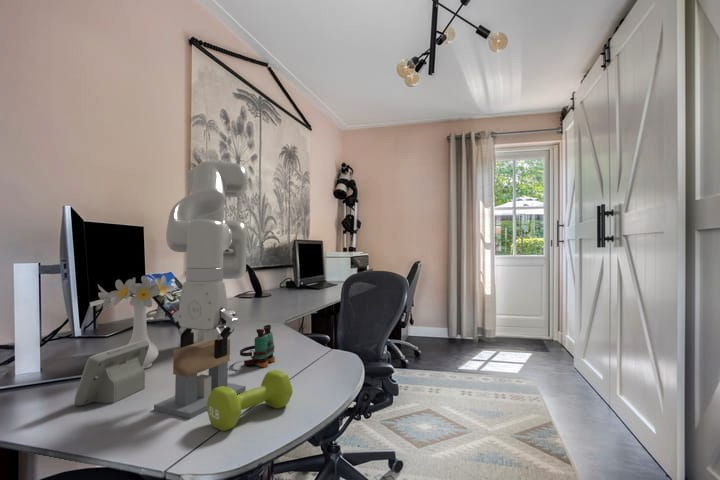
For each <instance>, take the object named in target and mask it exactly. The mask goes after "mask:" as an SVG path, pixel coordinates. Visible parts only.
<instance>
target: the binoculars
mask: <svg viewBox="0 0 720 480" xmlns="http://www.w3.org/2000/svg"><path fill="white" fill-rule="evenodd" d="M271 329H272V325H271V324H266V325H264V326H263V328H261V329H260V328H257V329H256V334H257V336H256V337H254V345H250V346H245V347H243V348H242V349H240V350H239V355H240V356H241V357H250V358H251V359H246V360H244V361H243V363H244V366H250V365H257V366H258V367H260V368H266V367H268V366H269V363H274V362H275V361H276V359H275V357H276V356H274V353H275V344H274V342H275V341H274V336H273V334H274V333H273V332H272V331H271ZM248 351H250V352H248Z"/></svg>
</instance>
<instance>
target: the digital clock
mask: <svg viewBox="0 0 720 480" xmlns="http://www.w3.org/2000/svg"><path fill="white" fill-rule="evenodd" d="M148 349H149V342H148V341H146V340H143V341H138V342H135V343H131V344H128V343H127V344H125V345H122V346H119V347H115V348H112V349H109V350H106V351H103V352H99V353H97V354H94V355H91V356H89V357H88V358H87V361H86V362H85V366H84V369H83V371H82V374H81V378H80V381H79V384H78V387H77V390H76V391H75V395H74V401H73V402H74V405H76V406H77V407H79V406H86V405H88V404H90V403H93V402H96V403H97V402H98V403H104V404H105V403H106V404H107V403H108V404H114V403H117V402H119V401H121V400H122V399H125V398H128V397H129V396H132V395H135V394H136V393H138V392H139V391H142V390H144V389H145V387H146V385H145V384H146V371H145V370H146V369H143V368H142V366H143V363H144V360H145V357H146V355H147V352H148Z"/></svg>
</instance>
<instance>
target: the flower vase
mask: <svg viewBox="0 0 720 480" xmlns="http://www.w3.org/2000/svg"><path fill="white" fill-rule="evenodd" d="M140 279H141V280H140V281H141V283H138V282H137V283H136V277H133V278H130V279H126V281H125V283H123V281H122V280H121V279H117V280H115V282H114V284H115V288H116V289H117V290H112V291H110V292H107V290H105V289H104V288H103V287H102V286H100V285H99V284H97V287H98V290H100V292H98V293H97V294H98V298H99V299H100V300H102V301H103V302H102V311H103V312H105V311H106V310H108V305H109V304H110V302H111V300H112V299H114V301H113V303H112V305H113V306H118V304H119V303H120V302H121V301H122V300H124V299H125V300H128V299H129V298H130V297H131V298H130V300H129V305H130V306H133V327H132V328H133V329H132V335H131V338H130V340H129V341H128V343H127V345H128V344H131V343H135V342H138V341H143V340H146V341H148V342H149V349H148V352H147V355H146V357H145V360H144V363H143V366H142V368H143V369H144V370H146V369H148V368H150V367H152V365H153V362H154V361H156V359H157V358H158V356H159V353H160V352H159V350H158V346H156V345H155V344H154V343H153V342H152V341H151V340H150V338H149V337H150V336H149V335H148V329H147V312H148V311H147V309H148V308H151V307H153V300H152V298H153V297H156V296H159V295H160V296H162V297H163V296H165V297H166V298H168V299H169V300H171V301H173V300H174V297H173V295H172V294H171V293H170V292H174V291H175V289H176V288H175V286H174V285H172V284H171V285H170V284H167V278H166V276H165V275H162V276H161V277H156V278H154V279H153V280H151V281H150V279H149V278H148V277H147V276H146V275H142V276H141V278H140Z"/></svg>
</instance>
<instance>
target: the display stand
mask: <svg viewBox="0 0 720 480" xmlns="http://www.w3.org/2000/svg"><path fill="white" fill-rule="evenodd" d="M228 364H229V361H228V362H226V363H223V364H220V365H218V366H215V367H212V368H210V369H208V375H207V374H203V373H202V374H198V373H197V374H194V375H191V376H189V377H185V376H180V375H175V385H174V387H175V390H174V392H175V393H174V396H172V397H169V398H167V399H165V400H163V401H160V402H157V403H155V404H153V410H154V411H157V412H163V413H166V414H170V415H174V416H178V417H180V418H181V417H182V418H186V419H190V420H192V419H193V418H195V417H196V416H199V415H201V414H202V413H205V412H206V411H207V401H208V398H209V396H210V393H211V391H212V390H213V389H214V388H217V387H220V386H226V387H229V388H231V389H233V390H234V391H235V392H236V393H237V394H239V393H241V392H242V393H243V391H244V392H245V390H246V389H247V388H246V385H241V384H237V383H231V382H228V380H229V379H228V374H229V373H228V370H229V368H228V367H229V365H228ZM246 391H247V390H246Z"/></svg>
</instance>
